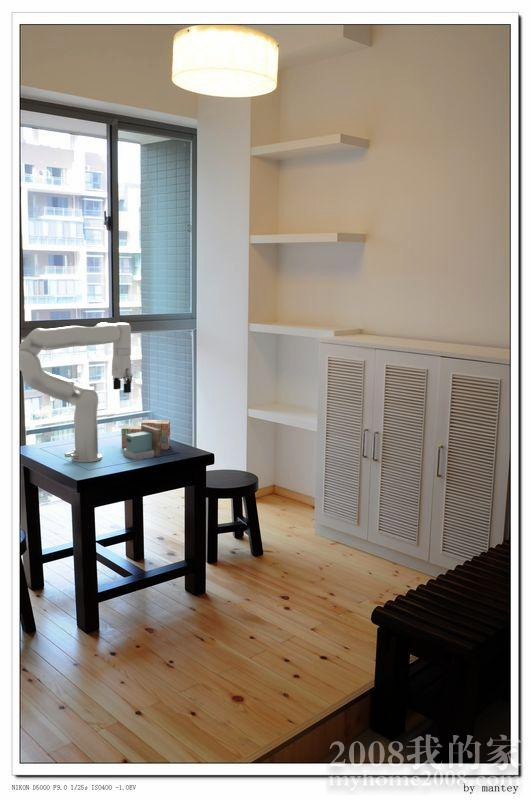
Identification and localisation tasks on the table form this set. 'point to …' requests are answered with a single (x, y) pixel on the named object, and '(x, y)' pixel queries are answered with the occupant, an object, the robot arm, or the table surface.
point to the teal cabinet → (138, 441)
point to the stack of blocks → (158, 424)
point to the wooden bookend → (150, 452)
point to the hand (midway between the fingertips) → (122, 390)
